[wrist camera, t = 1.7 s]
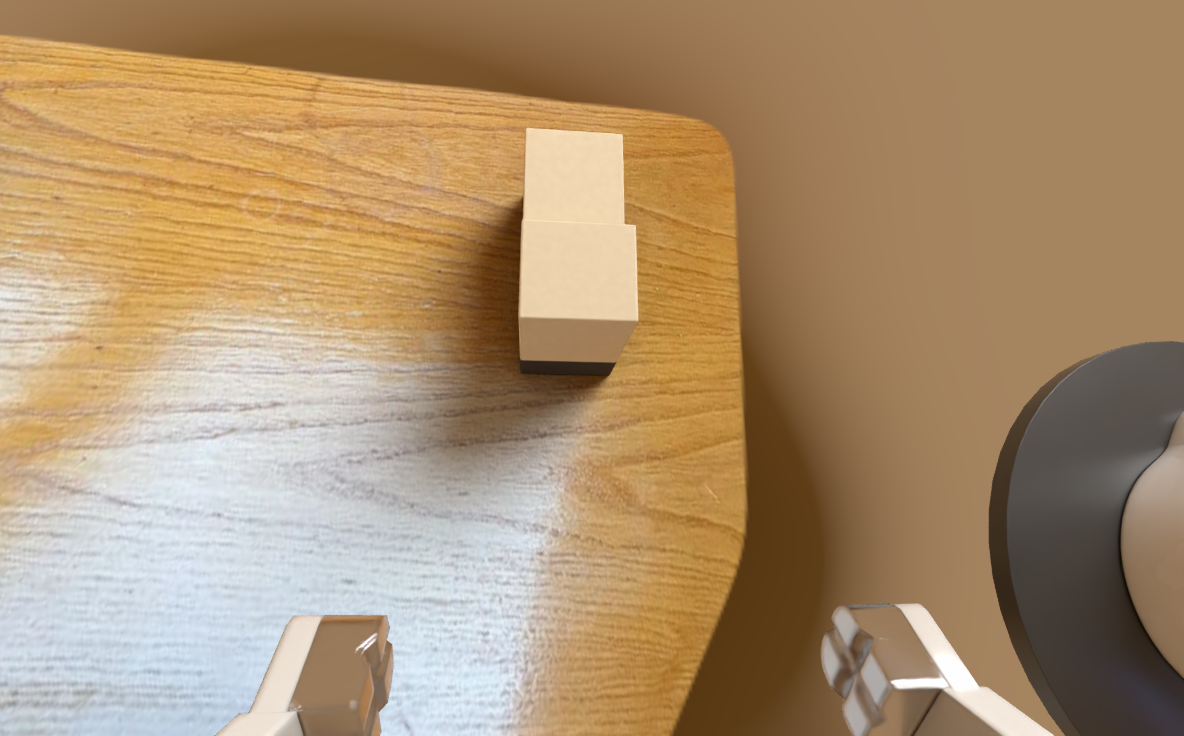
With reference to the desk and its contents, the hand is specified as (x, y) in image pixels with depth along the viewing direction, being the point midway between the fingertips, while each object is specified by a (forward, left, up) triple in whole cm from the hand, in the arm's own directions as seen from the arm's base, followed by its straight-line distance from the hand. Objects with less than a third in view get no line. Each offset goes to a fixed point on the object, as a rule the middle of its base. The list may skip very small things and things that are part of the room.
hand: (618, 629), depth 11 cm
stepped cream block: (0, -14, -17) cm, 22 cm away
